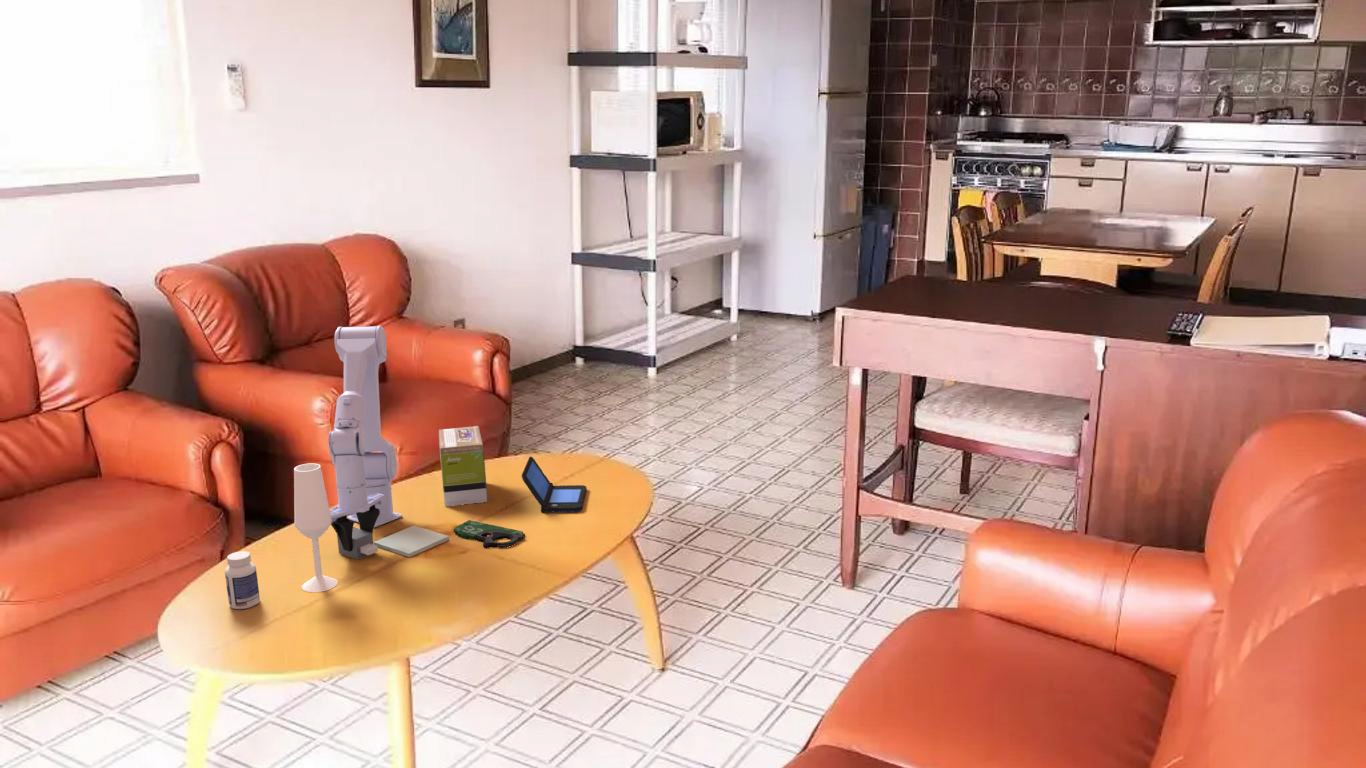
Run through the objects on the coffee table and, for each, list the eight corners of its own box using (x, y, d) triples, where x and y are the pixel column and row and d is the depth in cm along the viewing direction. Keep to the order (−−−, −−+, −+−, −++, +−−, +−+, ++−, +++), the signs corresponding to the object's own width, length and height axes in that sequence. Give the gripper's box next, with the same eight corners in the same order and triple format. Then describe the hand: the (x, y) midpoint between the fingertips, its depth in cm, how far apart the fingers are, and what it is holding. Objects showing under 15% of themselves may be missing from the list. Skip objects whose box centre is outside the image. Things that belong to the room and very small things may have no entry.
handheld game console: (581, 514, 245) (580, 475, 243) (522, 515, 245) (520, 476, 243) (587, 489, 260) (585, 453, 258) (531, 490, 260) (529, 454, 258)
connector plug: (338, 553, 225) (336, 533, 224) (355, 546, 228) (353, 526, 227) (365, 562, 220) (363, 542, 219) (381, 555, 224) (380, 535, 222)
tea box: (442, 486, 264) (437, 428, 260) (484, 482, 266) (480, 424, 262) (444, 507, 250) (439, 446, 246) (488, 503, 252) (484, 442, 248)
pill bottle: (266, 599, 204) (260, 551, 202) (246, 611, 199) (240, 562, 197) (243, 595, 206) (236, 548, 204) (222, 607, 201) (216, 559, 199)
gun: (440, 534, 232) (470, 518, 240) (441, 540, 232) (471, 524, 241) (501, 547, 224) (530, 531, 233) (502, 554, 224) (530, 537, 233)
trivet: (373, 545, 228) (373, 542, 228) (413, 528, 237) (413, 525, 237) (409, 557, 222) (408, 553, 222) (449, 539, 231) (448, 536, 231)
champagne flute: (298, 593, 207) (285, 474, 200) (305, 578, 213) (292, 462, 207) (335, 590, 207) (322, 472, 201) (340, 576, 214) (328, 460, 208)
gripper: (334, 498, 213) (341, 562, 216) (392, 477, 224) (397, 538, 228) (311, 491, 217) (318, 554, 220) (369, 471, 228) (375, 531, 232)
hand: (357, 546), depth 224 cm, fingers closed on connector plug, 4 cm apart
